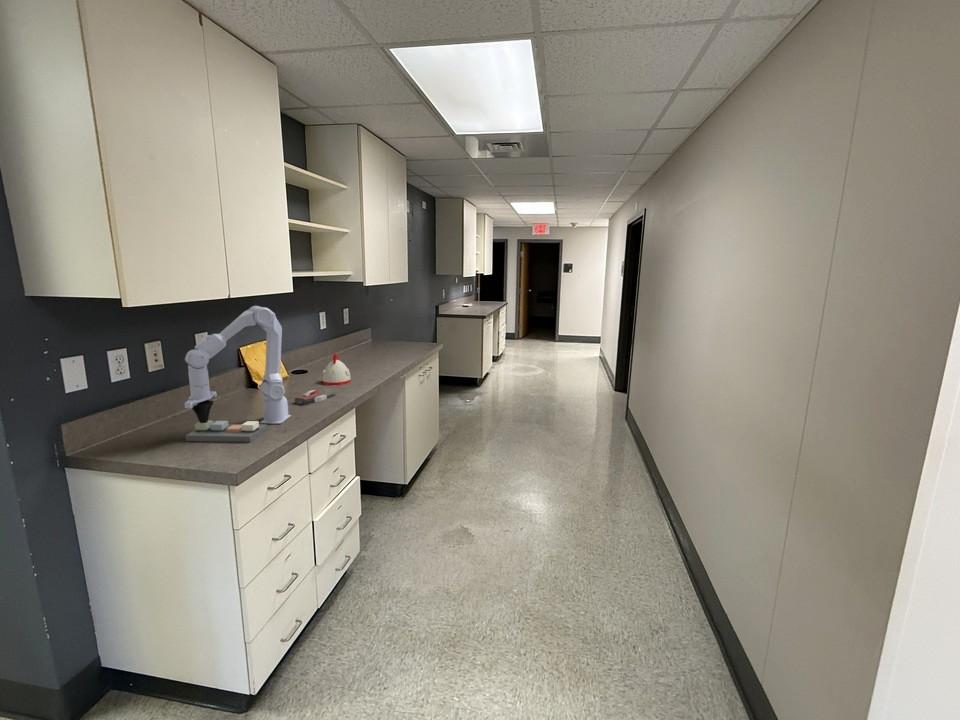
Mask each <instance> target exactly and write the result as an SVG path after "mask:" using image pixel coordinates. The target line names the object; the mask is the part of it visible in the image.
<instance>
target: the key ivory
mask: <svg viewBox="0 0 960 720" xmlns="http://www.w3.org/2000/svg"><path fill="white" fill-rule="evenodd" d="M241 424H242V425H241V427H242V430H244V431H245V432H246V433H253V432H255V431H256V430H257V428H258V427H259V424H260V422H259V420H255V421H254V420H251V421H250V420H247V421H246V422H244V423H241Z"/></svg>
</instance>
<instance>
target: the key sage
mask: <svg viewBox="0 0 960 720" xmlns="http://www.w3.org/2000/svg"><path fill="white" fill-rule="evenodd" d="M212 423H214V420H209V419H208V422H206V423H200V422H199V421H198V422H196V423H195V424H194V428H195V430H198V432H207V431H209V430H211V427H210V424H212Z"/></svg>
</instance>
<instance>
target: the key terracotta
mask: <svg viewBox="0 0 960 720" xmlns="http://www.w3.org/2000/svg"><path fill="white" fill-rule="evenodd" d="M241 430H242V427H241V425H232V426H230V427H228V428H227V429H226V432H240V431H241Z"/></svg>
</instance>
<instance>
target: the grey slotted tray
mask: <svg viewBox="0 0 960 720" xmlns="http://www.w3.org/2000/svg"><path fill="white" fill-rule="evenodd" d="M242 424H243V423H229V426H228V427H230V426H232V425H242ZM228 427H227V428H228ZM227 428H226V429H227ZM267 431H268V424H266V423H259V427H258V428H257V430H256V431H255V432H253V433H246V432H245V431H244V430H241V431H240V432H226V430H225V431H223V432H214V430H209V431H207V432H198V430H193V431H191V432H189V433H187V434H185V442H212V443H214V442H217V443H218V442H220V443H221V442H223V443H225V442H226V443H227V442H228V443H252V442H253V441H254V440H256V439H257V438H258V437H259V436H261V435H263V434H264V433H266V432H267Z"/></svg>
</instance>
